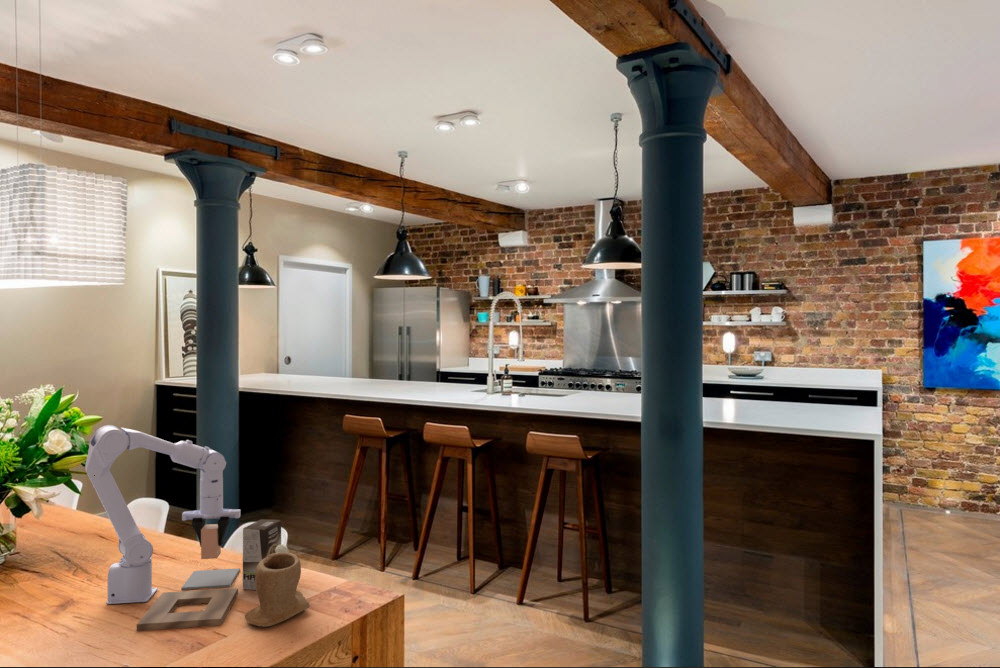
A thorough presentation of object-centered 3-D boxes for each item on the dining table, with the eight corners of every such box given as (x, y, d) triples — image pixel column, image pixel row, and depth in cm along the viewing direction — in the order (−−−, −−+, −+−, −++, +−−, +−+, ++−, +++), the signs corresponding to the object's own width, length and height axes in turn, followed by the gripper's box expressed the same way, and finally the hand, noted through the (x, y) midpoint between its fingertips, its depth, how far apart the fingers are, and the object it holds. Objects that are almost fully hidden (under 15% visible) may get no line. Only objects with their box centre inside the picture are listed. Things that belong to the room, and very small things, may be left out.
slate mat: (181, 589, 174) (181, 587, 174) (194, 572, 186) (194, 570, 186) (230, 587, 176) (230, 584, 176) (239, 570, 188) (239, 568, 188)
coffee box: (264, 591, 173) (264, 529, 173) (241, 589, 174) (241, 527, 174) (282, 578, 182) (282, 519, 182) (260, 576, 183) (260, 518, 183)
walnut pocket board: (136, 630, 151) (136, 624, 151) (162, 598, 168) (162, 592, 168) (220, 625, 154) (220, 618, 154) (237, 593, 171) (237, 588, 171)
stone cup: (269, 636, 148) (269, 569, 148) (237, 622, 155) (237, 558, 155) (323, 612, 161) (323, 550, 160) (291, 600, 167) (291, 541, 167)
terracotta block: (201, 559, 178) (200, 529, 177) (205, 553, 182) (204, 524, 181) (217, 558, 178) (216, 528, 178) (220, 552, 182) (220, 523, 182)
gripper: (178, 500, 175) (178, 551, 175) (236, 497, 178) (236, 548, 178) (186, 493, 182) (186, 542, 182) (242, 491, 185) (242, 540, 185)
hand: (211, 545), depth 181 cm, fingers closed on terracotta block, 4 cm apart
